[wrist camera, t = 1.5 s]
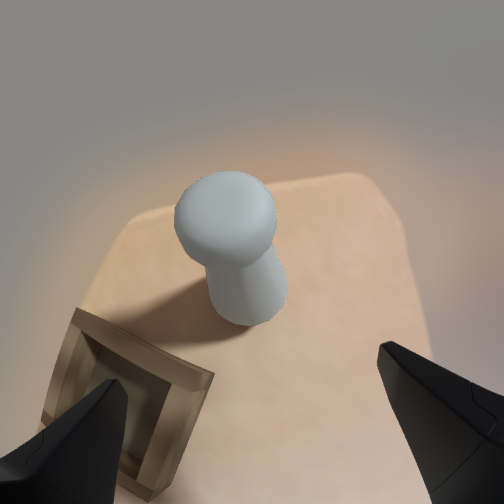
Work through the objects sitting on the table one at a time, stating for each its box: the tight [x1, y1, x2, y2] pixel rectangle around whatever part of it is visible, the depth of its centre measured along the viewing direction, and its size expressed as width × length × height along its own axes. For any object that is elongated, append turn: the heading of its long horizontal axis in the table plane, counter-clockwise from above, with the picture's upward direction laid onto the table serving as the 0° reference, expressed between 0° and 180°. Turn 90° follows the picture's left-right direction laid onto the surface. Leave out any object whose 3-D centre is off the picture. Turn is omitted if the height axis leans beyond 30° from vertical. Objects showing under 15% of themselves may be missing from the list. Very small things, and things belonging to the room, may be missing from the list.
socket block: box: [41, 308, 215, 503], centre depth 17 cm, size 11×11×4 cm
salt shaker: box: [174, 171, 288, 326], centre depth 16 cm, size 6×6×13 cm
